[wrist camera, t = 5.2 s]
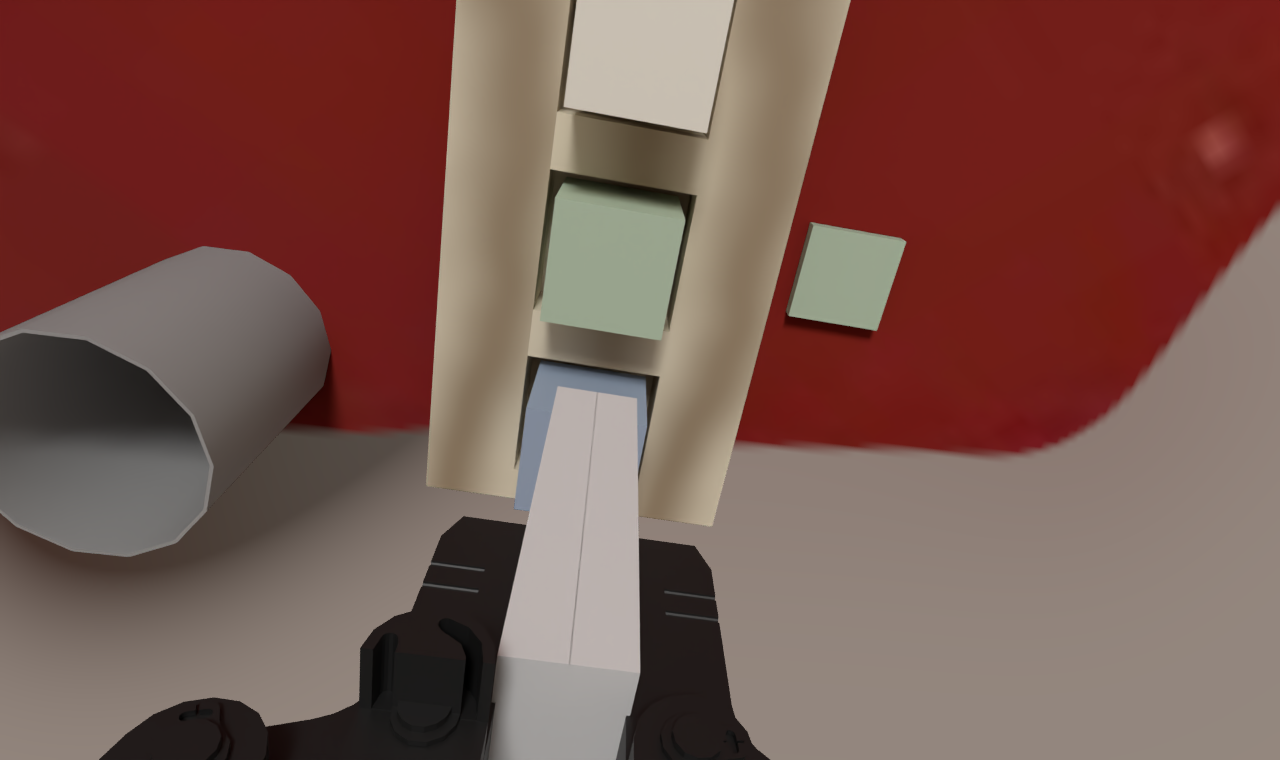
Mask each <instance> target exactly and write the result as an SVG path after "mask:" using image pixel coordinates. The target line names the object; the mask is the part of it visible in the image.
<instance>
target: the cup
mask: <svg viewBox="0 0 1280 760" xmlns="http://www.w3.org/2000/svg"><path fill="white" fill-rule="evenodd" d="M330 353H331V348H330V345H329V341H328V338H327V334H326V331H325V327H324V324H323V320H322V317H321V313H320V311H319V309H318V308H317V307H316V306H315V305H314V303H313V302H312V301H311V300H310V298H309V297H308V296H307V295H306V294H305V292H304V291H303V290H302V289H301V288H300V286H299V285H298V284H297V283H296V281H295V280H294V279H293V278H292V277H291V276H290V275H289V274H287V273H285V272H283V271H282V270H280V269H278V268H276V267H275V266H273V265H271V264H269V263H267V262H266V261H264V260H262V259H260V258H259V257H257V256H255V255H253V254H251V253H250V252H245V251H237V250H229V249H221V248H214V247H206V246H203V247H200V248H197V249H194V250H191V251H188V252H185V253H182V254H180V255H177V256H174V257H171V258H168V259H165V260H163V261H161V262H158V263H156V264H154V265H152V266H149V267H147V268H145V269H143V270H140V271H138V272H136V273H134V274H131V275H129V276H127V277H124V278H122V279H120V280H118V281H115V282H113V283H111V284H109V285H106V286H104V287H102V288H100V289H97V290H95V291H93V292H91V293H88V294H86V295H84V296H82V297H79V298H77V299H75V300H73V301H70V302H68V303H66V304H64V305H61V306H59V307H57V308H55V309H52V310H50V311H48V312H46V313H43V314H41V315H39V316H37V317H34V318H32V319H30V320H28V321H25V322H23V323H21V324H19V325H16V326H14V327H12V328H9V329H7V330H5V331H3V332H0V513H1V514H2V515H3V516H4V517H6V518H7V519H8V520H9V521H10V522H11V523H13V524H14V525H15V526H16V527H18V528H21V529H23V530H25V531H28V532H30V533H32V534H34V535H37V536H39V537H41V538H44V539H46V540H48V541H50V542H53V543H55V544H58V545H60V546H62V547H64V548H67V549H69V550H71V551H76V552H86V553H96V554H105V555H115V556H116V555H117V556H125V557H130V556H134V555H137V554H140V553H144V552H147V551H150V550H154V549H158V548H161V547H165V546H167V545H171V544H175V543H177V542H178V541H179V540H180V539H181V538H182V537H183V536H184V535H185V533H186V532H187V531H188V530H189V529H190V528H191V527H192V526H193V525H194V524H195V523H196V522H197V521H198V520H199V519H200V518H201V517H202V516H203V515H204V514H205V513H206V512H207V511H208V509H209V508H210V507H211V506H212V505H213V504H214V503H215V502H216V501H217V500H218V499H219V498H220V497H221V495H222V494H223V493H224V492H225V491H226V490H227V489H228V488H229V487H230V486H231V485H232V484H233V483H234V481H235V480H236V479H237V478H238V477H239V476H240V475H241V474H242V473H243V472H244V471H245V470H246V469H247V467H248V466H249V465H250V464H251V463H252V462H253V461H254V460H255V459H256V458H257V457H258V456H259V455H260V453H261V452H262V451H263V450H264V449H265V448H266V447H267V446H268V445H269V444H270V443H271V442H272V441H273V439H274V438H275V437H276V436H277V435H278V434H279V433H280V432H281V431H282V430H283V429H284V428H285V427H286V426H287V424H288V423H289V422H290V421H291V420H292V419H293V418H294V417H295V416H296V415H297V414H298V413H299V412H300V411H301V409H302V408H303V407H304V406H305V405H306V404H307V403H308V402H309V401H310V400H311V399H312V398H313V397H314V395H315V394H316V393H317V392H318V391H319V390H320V389H321V388H322V387H323V386H324V381H325V377H326V372H327V367H328V363H329V358H330Z"/></svg>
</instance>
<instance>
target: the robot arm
mask: <svg viewBox="0 0 1280 760" xmlns="http://www.w3.org/2000/svg"><path fill="white" fill-rule="evenodd" d="M638 523H639V522H638V438H637V398H632V397H625V396H619V395H612V394H606V393H599V392H593V391H586V390H580V389H573V388H567V387H560V386H558V387H557V391H556V396H555V400H554V405H553V409H552V414H551V418H550V423H549V427H548V432H547V436H546V440H545V445H544V449H543V454H542V458H541V463H540V467H539V472H538V476H537V481H536V485H535V490H534V494H533V498H532V503H531V507H530V512H529V516H528V521H527V525H522V524H515V523H508V522H501V521H493V520H486V519H479V518H472V517H465V516H464V517H462V518H461V519H460V520H459V521H458V522H457V523H455V524H454V525H453V526H452V527H451V528H450V529H449V530H447V531H446V532H445V533H444V534H443V535H442V536H441V538H440V540H439V543H438V545H437V548H436V551H435V553H434V556H433V558H432V561H431V566H429V569H428V571H427V573H426V576H425V578H424V581H423V586H422V587H421V589H420V591H419V594H418V596H417V599H416V601H415V604H414V606H413V609H412V611H411V612H408V613H404V614H401V615H397V616H394V617H393V618H391V619H390V620H388V621H387V622H385V623H383V624H382V625H380V626H379V627H377V628H376V629H374V630H373V632H372V633H371V634H370V636H369V637H368V638H367V640H366V641H365V642H364V644H363V645H362V647H361V648H360V693H359V696H360V697H359V701H358V702H357V703H355V704H354V705H352V706H350V707H347V708H345V709H343V710H341V711H339V712H336V713H334V714H331V715H327V716H323V717H319V718H315V719H311V720H305V721H299V722H292V723H286V724H281V725H274V726H268V727H265V725H264V723H263V721H262V719H261V717H260V715H259V713H257V712H256V711H254V710H253V709H251V708H250V707H248V706H246V705H245V704H243V703H242V702H240V701H234V700H227V699H220V698H207V699H201V700H194V701H187V702H183V703H181V704H178V705H176V706H173V707H171V708H168V709H166V710H163V711H161V712H158V713H156V714H153V715H152V716H151V717H149V718H148V719H147V720H145V721H144V722H142V723H141V724H140V725H138V726H137V727H135V728H134V729H133V730H131V731H130V732H128V733H127V734H126V735H125V736H124V737H123V738H122V739H121V740H120V741H118V742H117V744H115V745H114V746H113V747H112V748H111V749H110V750H109V751H108V752H107V753H106V754H105V755H103V756H102V757H101V758H100V759H99V760H770V759H769V758H767V757H766V756H765V755H764V754H762V753H761V752H760V751H758V750H757V749H756V748H755V747H754V745H753V744H752V743H751V740H750V738H749V735H748V732H747V731H746V730H745V729H744V727H743V726H742V725H741V724H740V723H739V722H738V721H737V719H736V718H735V715H734V712H733V708H732V705H731V698H730V691H729V686H728V678H727V671H726V665H725V658H724V652H723V645H722V638H721V632H720V626H719V623H718V612H717V605H716V601H715V592H714V586H713V579H712V572H711V569H710V568H709V566H708V565H707V563H706V562H705V560H704V559H703V558H702V556H701V555H700V553H699V552H698V550H697V549H696V547H695V546H690V545H683V544H676V543H669V542H661V541H654V540H647V539H640V538H639V526H638V525H639V524H638Z"/></svg>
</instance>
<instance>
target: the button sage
mask: <svg viewBox="0 0 1280 760" xmlns="http://www.w3.org/2000/svg"><path fill="white" fill-rule="evenodd" d="M684 225H685V217H684V214H683V211H682V207H681V204H680V201H679V197H678V196H673V195H668V194H662V193H657V192H651V191H645V190H640V189H634V188H628V187H623V186H617V185H612V184H606V183H600V182H595V181H589V180H584V179H578V178H572V177H566V179H565V180H564V182H563V184H562V186H561V188H560V190H559V191H558V193H557V195H556V197H555V203H554V211H553V219H552V227H551V235H550V243H549V251H548V259H547V267H546V275H545V283H544V291H543V299H542V307H541V315H540V321H543V322H549V323H556V324H562V325H568V326H574V327H580V328H586V329H593V330H599V331H605V332H611V333H617V334H623V335H629V336H636V337H642V338H648V339H654V340H660V341H661V339H662V334H663V329H664V324H665V319H666V314H667V309H668V304H669V299H670V294H671V289H672V284H673V279H674V274H675V269H676V264H677V259H678V255H679V250H680V245H681V240H682V235H683V230H684Z"/></svg>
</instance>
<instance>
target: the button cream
mask: <svg viewBox="0 0 1280 760" xmlns="http://www.w3.org/2000/svg"><path fill="white" fill-rule="evenodd" d="M733 3H734V0H577V3H576V11H575V19H574V27H573V35H572V44H571V52H570V60H569V68H568V76H567V84H566V92H565V100H564V107H568V108H573V109H579V110H584V111H589V112H595V113H600V114H606V115H611V116H616V117H622V118H627V119H633V120H638V121H643V122H649V123H654V124H659V125H665V126H670V127H676V128H681V129H686V130H692V131H697V132H702V133H707V130H708V125H709V121H710V116H711V111H712V106H713V101H714V96H715V91H716V86H717V81H718V76H719V71H720V67H721V62H722V57H723V52H724V47H725V42H726V37H727V32H728V27H729V22H730V17H731V13H732V8H733Z"/></svg>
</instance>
